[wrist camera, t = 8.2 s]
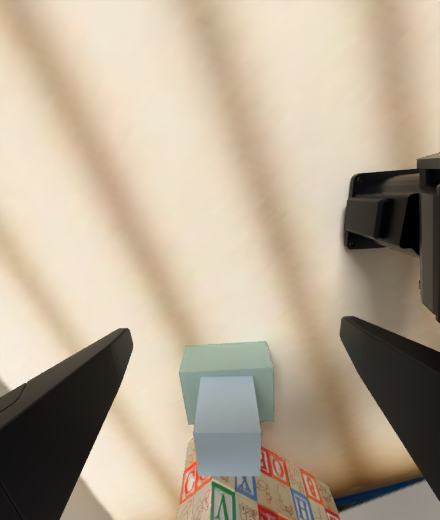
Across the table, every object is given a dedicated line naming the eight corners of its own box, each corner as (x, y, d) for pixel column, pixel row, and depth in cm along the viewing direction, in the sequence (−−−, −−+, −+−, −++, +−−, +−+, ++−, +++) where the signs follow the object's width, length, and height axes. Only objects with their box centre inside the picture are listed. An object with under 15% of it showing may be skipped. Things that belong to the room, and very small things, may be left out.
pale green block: (265, 339, 24) (273, 367, 20) (266, 387, 26) (274, 421, 22) (186, 344, 24) (178, 372, 20) (193, 390, 26) (188, 424, 22)
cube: (252, 376, 20) (261, 432, 16) (252, 414, 22) (260, 476, 17) (200, 376, 20) (193, 432, 16) (204, 414, 22) (198, 476, 17)
